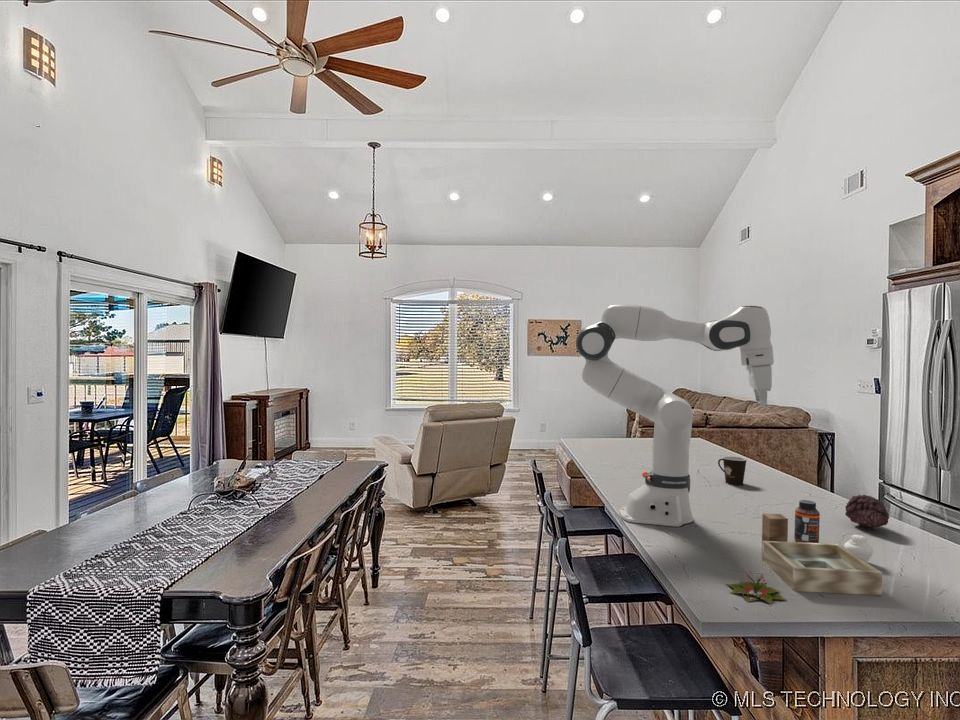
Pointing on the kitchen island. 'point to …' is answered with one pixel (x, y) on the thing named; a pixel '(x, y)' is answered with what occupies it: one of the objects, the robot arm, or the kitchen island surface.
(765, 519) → the peg
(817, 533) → the supplement bottle
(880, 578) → the peg box
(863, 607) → the kitchen island surface
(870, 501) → the pine cone
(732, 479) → the coffee mug
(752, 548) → the kitchen island surface
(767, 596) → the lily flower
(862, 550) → the white ribbed rounded lump
